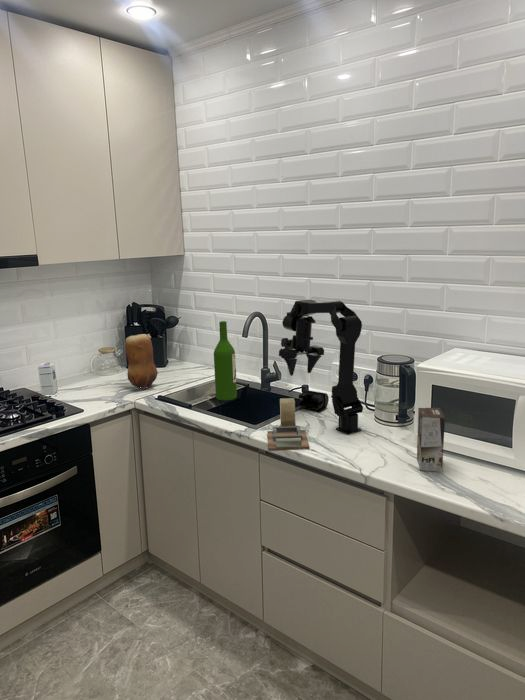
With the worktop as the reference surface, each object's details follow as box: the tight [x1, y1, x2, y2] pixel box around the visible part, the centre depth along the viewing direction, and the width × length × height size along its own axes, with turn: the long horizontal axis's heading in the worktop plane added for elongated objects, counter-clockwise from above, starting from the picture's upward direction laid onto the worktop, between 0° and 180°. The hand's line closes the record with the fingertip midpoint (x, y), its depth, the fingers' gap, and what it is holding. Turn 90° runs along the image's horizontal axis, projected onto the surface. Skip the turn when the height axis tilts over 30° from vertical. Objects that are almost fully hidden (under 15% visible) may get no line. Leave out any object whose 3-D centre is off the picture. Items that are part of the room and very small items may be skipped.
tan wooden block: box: [279, 397, 296, 427], centre depth 187 cm, size 5×5×10 cm
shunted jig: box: [267, 425, 310, 451], centre depth 176 cm, size 15×13×3 cm
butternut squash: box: [124, 333, 159, 389], centre depth 241 cm, size 14×13×25 cm
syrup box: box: [37, 362, 59, 396], centre depth 235 cm, size 6×6×14 cm
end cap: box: [298, 389, 329, 414], centre depth 207 cm, size 10×7×7 cm
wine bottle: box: [213, 320, 238, 402], centre depth 222 cm, size 9×9×32 cm
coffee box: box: [416, 407, 446, 472], centre depth 153 cm, size 9×6×16 cm
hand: (300, 374), depth 201 cm, fingers open, 9 cm apart
